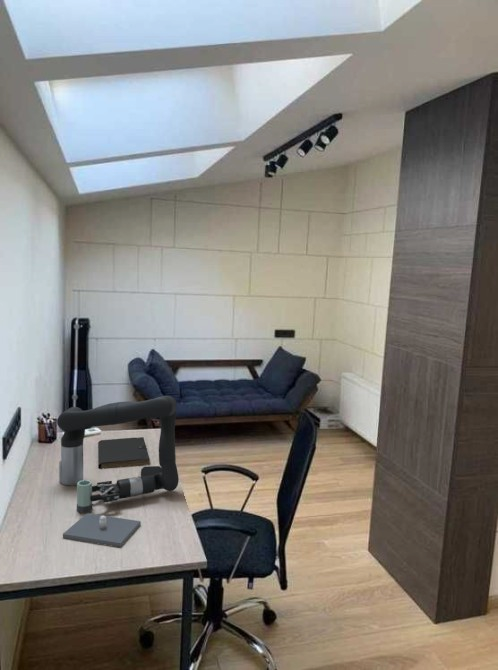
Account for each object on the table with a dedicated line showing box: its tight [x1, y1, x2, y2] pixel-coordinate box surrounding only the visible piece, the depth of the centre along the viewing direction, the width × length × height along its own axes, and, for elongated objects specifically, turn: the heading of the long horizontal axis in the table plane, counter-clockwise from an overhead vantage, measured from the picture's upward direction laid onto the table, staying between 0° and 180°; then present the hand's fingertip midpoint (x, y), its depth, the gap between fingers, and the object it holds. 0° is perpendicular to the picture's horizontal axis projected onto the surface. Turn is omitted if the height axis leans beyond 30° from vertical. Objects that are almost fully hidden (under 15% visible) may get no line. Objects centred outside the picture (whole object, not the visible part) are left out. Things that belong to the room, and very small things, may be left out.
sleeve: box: [76, 479, 93, 514], centre depth 197 cm, size 6×6×11 cm
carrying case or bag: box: [140, 465, 162, 477], centre depth 231 cm, size 11×3×15 cm
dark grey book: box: [97, 436, 150, 470], centre depth 257 cm, size 33×4×24 cm
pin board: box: [62, 512, 141, 548], centre depth 181 cm, size 22×16×6 cm
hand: (88, 494), depth 197 cm, fingers open, 8 cm apart
